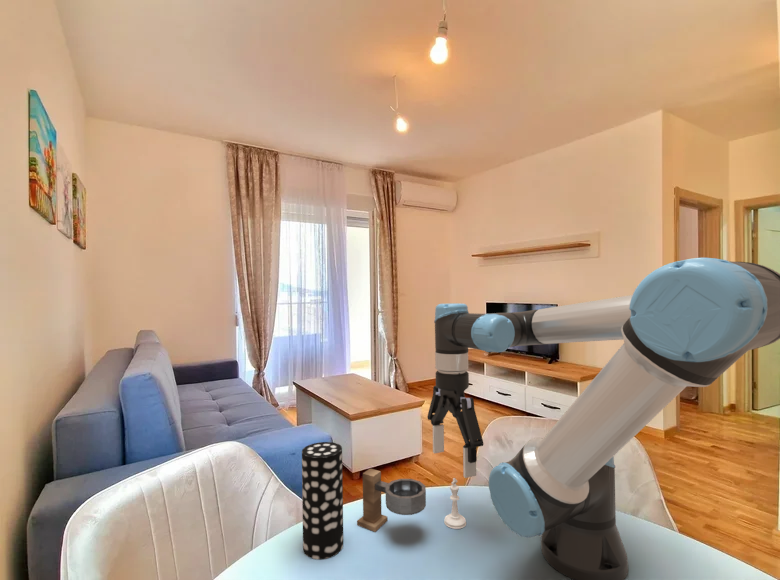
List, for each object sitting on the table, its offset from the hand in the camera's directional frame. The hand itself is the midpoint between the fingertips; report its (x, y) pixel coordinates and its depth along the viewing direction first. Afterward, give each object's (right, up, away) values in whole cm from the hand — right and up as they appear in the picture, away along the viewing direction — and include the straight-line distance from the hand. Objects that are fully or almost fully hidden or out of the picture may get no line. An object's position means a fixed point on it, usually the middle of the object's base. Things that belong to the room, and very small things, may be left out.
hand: (453, 463), depth 89 cm
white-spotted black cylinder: (-28, -14, -8) cm, 33 cm away
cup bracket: (-13, -7, -4) cm, 15 cm away
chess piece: (0, -14, -1) cm, 14 cm away
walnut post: (-18, -14, 0) cm, 23 cm away
